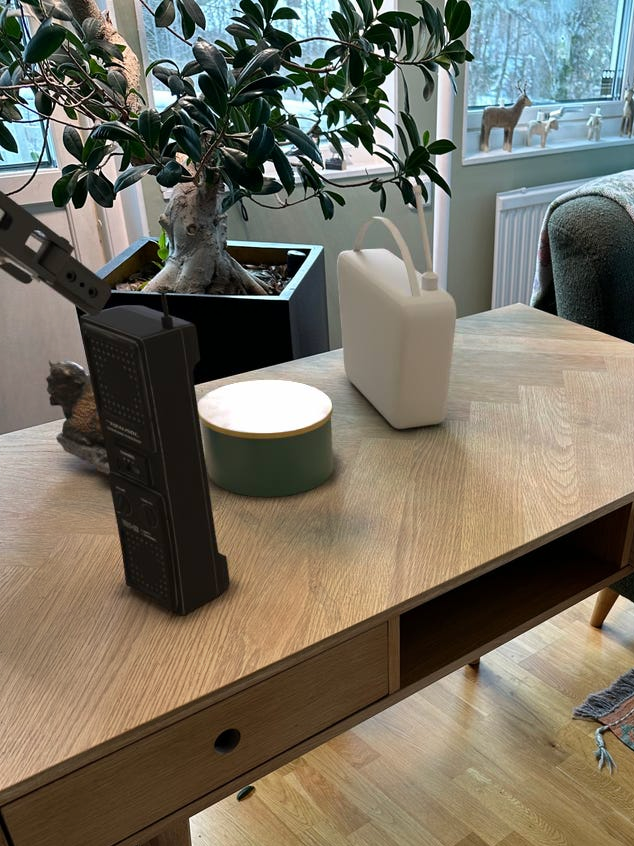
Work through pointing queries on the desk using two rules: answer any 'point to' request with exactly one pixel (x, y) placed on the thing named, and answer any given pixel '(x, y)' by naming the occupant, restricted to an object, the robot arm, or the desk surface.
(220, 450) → the tin
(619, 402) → the desk surface
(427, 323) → the white watering can
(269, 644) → the desk surface
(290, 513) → the desk surface
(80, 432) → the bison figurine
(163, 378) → the portable radio
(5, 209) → the robot arm
